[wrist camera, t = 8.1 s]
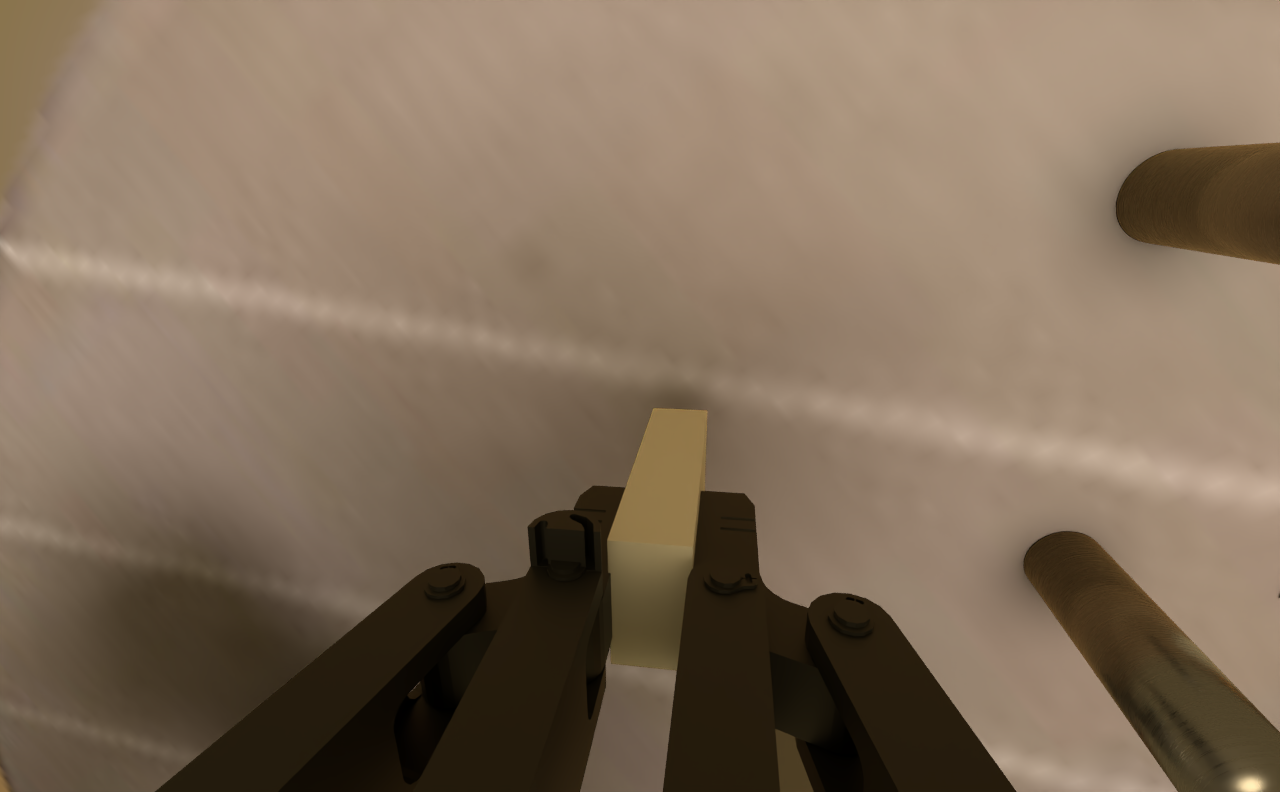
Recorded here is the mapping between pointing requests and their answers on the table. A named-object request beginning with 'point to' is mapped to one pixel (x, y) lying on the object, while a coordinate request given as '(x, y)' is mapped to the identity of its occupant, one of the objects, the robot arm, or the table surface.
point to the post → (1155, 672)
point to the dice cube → (790, 765)
